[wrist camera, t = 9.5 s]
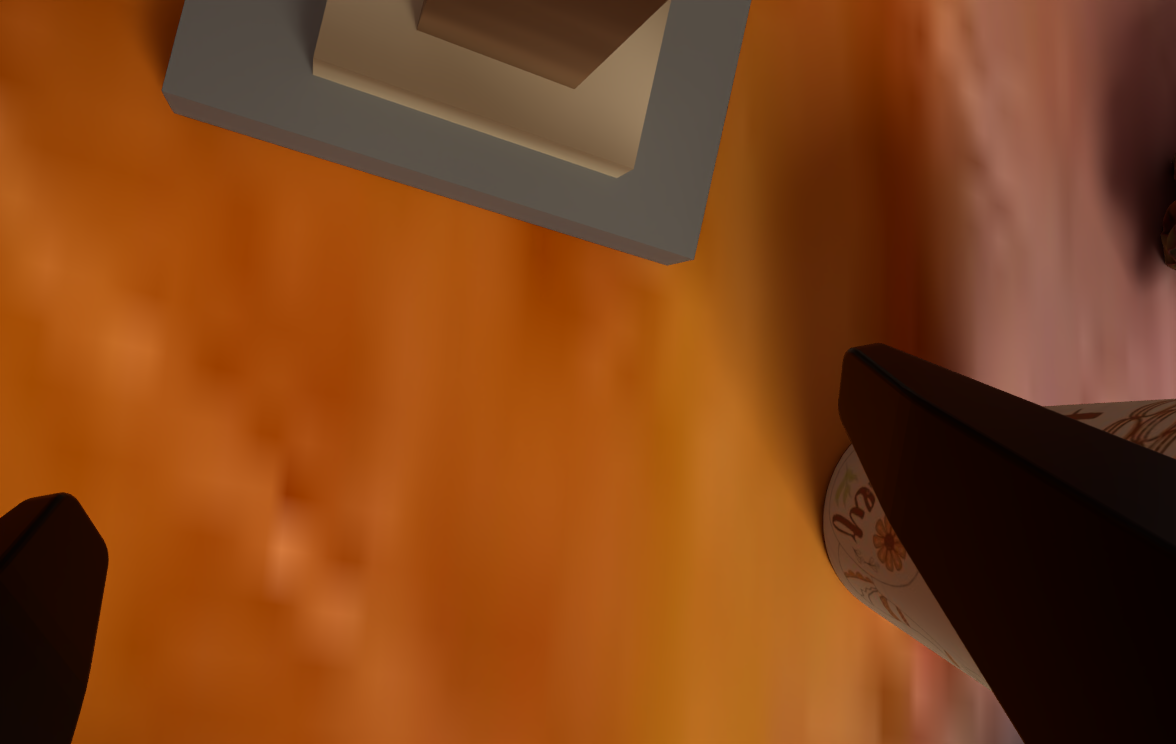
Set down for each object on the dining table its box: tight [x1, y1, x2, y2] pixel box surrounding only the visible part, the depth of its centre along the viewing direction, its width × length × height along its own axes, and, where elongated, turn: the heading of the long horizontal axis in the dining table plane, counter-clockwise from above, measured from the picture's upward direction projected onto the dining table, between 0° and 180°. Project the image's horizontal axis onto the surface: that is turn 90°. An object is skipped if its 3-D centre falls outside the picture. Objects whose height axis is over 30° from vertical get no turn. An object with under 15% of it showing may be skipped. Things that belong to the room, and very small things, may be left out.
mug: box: [823, 399, 1176, 691], centre depth 19 cm, size 8×13×10 cm, turn 28°
